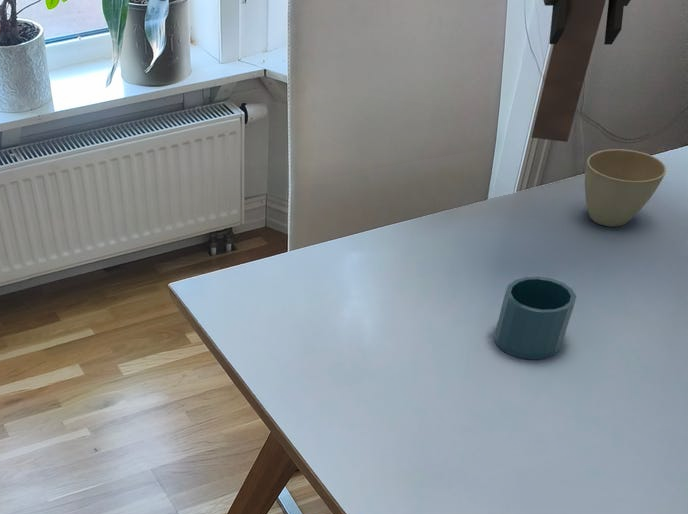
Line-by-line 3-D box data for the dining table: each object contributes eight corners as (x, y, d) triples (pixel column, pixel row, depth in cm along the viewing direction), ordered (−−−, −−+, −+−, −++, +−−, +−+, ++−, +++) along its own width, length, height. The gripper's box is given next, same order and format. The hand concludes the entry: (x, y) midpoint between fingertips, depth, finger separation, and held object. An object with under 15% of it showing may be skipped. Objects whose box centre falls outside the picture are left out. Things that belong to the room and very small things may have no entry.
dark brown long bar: (572, 127, 102) (632, -93, 86) (568, 142, 99) (628, -82, 83) (535, 123, 103) (587, -96, 87) (530, 138, 100) (582, -85, 85)
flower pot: (626, 243, 118) (645, 188, 112) (558, 220, 122) (573, 166, 116) (659, 215, 122) (679, 161, 117) (592, 195, 127) (608, 142, 121)
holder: (564, 330, 105) (579, 282, 101) (555, 364, 101) (571, 317, 96) (500, 318, 107) (512, 272, 102) (489, 352, 103) (501, 305, 98)
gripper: (685, -184, 91) (659, 57, 93) (507, -181, 92) (487, 56, 95) (720, -249, 83) (692, 15, 86) (526, -245, 85) (504, 14, 87)
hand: (584, 36), depth 90 cm, fingers closed on dark brown long bar, 5 cm apart
